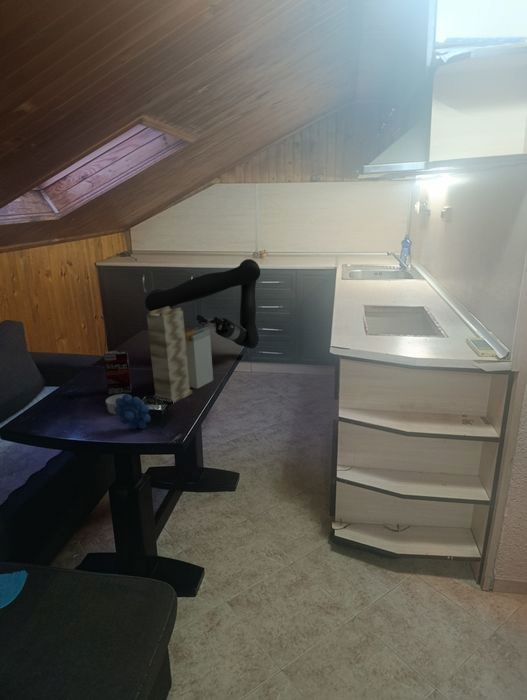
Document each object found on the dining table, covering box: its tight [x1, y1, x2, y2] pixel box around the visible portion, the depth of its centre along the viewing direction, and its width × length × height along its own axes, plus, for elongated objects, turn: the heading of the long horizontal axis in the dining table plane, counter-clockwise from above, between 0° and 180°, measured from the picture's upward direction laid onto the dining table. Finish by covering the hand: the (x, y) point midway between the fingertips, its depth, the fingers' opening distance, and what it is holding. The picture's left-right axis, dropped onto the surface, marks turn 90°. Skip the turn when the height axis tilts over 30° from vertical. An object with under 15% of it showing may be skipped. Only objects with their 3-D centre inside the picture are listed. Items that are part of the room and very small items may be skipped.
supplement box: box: [103, 349, 133, 395], centre depth 180 cm, size 9×5×16 cm, turn 101°
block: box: [185, 322, 216, 342], centre depth 183 cm, size 18×4×4 cm, turn 148°
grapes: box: [114, 393, 152, 430], centre depth 148 cm, size 12×7×12 cm, turn 83°
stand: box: [146, 306, 193, 404], centre depth 171 cm, size 11×10×33 cm
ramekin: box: [105, 393, 133, 415], centre depth 165 cm, size 9×9×4 cm
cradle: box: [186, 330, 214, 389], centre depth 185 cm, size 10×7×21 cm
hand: (205, 318), depth 186 cm, fingers open, 8 cm apart
